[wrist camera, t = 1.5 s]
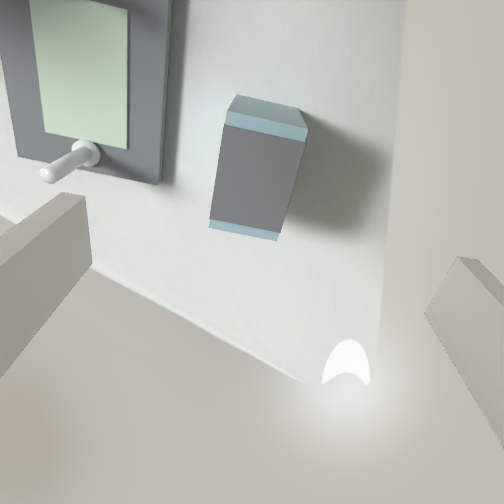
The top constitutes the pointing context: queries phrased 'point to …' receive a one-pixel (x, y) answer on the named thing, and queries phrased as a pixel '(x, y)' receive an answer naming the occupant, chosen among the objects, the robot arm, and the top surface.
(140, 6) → the pin tray
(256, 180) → the block
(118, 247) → the top surface
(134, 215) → the top surface
